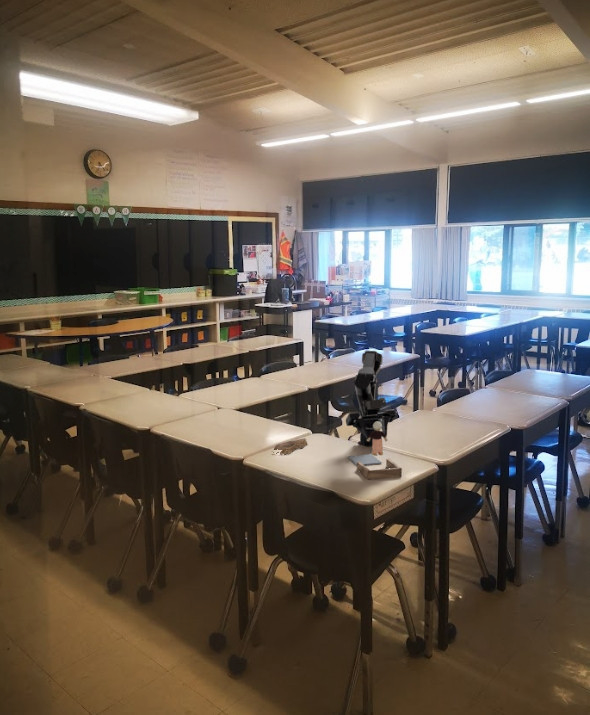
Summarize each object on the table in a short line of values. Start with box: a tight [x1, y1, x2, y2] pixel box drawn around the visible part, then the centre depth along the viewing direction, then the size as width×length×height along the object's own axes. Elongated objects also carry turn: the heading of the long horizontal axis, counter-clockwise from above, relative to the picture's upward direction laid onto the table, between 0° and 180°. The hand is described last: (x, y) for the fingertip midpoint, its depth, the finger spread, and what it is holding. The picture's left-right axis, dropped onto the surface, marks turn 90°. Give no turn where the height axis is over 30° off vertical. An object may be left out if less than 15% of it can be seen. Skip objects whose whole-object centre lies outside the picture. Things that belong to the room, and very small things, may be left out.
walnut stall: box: [356, 458, 403, 481], centre depth 221 cm, size 11×13×3 cm
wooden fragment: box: [272, 438, 309, 456], centre depth 251 cm, size 26×11×1 cm, turn 145°
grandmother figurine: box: [367, 421, 388, 457], centre depth 222 cm, size 8×4×13 cm, turn 109°
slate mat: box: [347, 453, 383, 467], centre depth 234 cm, size 10×10×1 cm
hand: (377, 437), depth 221 cm, fingers closed on grandmother figurine, 7 cm apart
